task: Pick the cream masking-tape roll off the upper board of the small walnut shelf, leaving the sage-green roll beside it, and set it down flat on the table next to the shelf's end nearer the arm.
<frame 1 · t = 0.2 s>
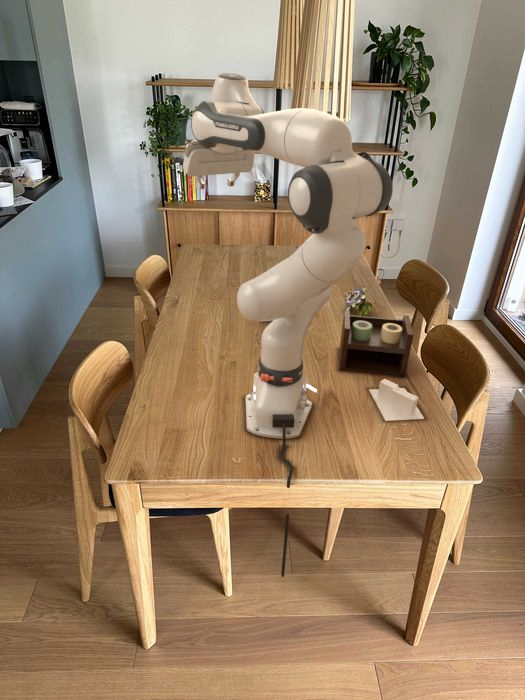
hand: (215, 186, 142), 52 cm above the table, tool tilted 20°, fingers open, 8 cm apart
film camera: (273, 314, 190), on the table
sage tape roll: (360, 336, 156), point 10 cm above the table, touching shelf
passion flower: (358, 312, 194), on the table
shelf: (370, 363, 161), on the table
cream tape roll: (390, 339, 155), point 10 cm above the table, touching shelf
napkin holder: (395, 404, 143), on the table
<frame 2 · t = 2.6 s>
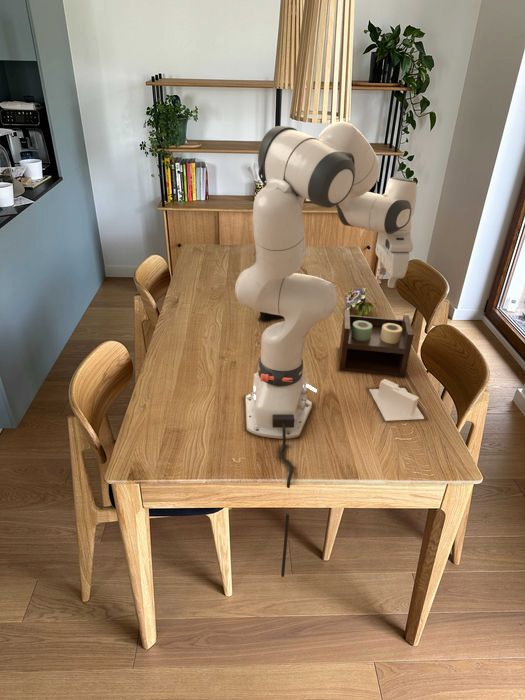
hand: (386, 280, 150), 27 cm above the table, tool pointing down, fingers open, 8 cm apart
nothing on the table moved.
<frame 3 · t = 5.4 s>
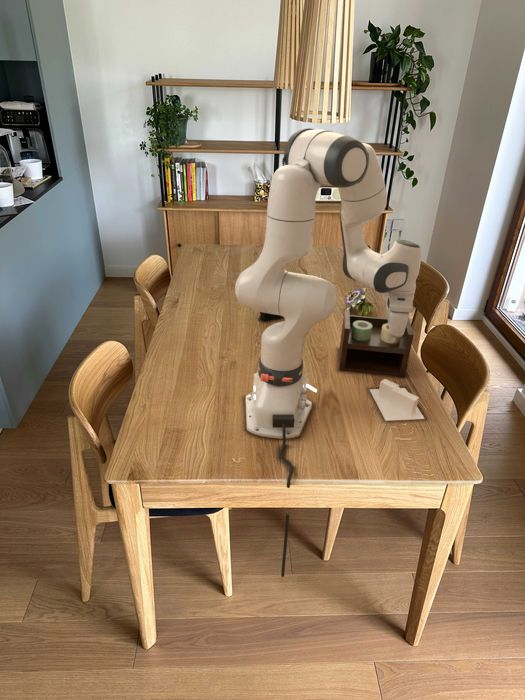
hand: (390, 335, 154), 11 cm above the table, tool pointing down, fingers closed on cream tape roll, 6 cm apart
cream tape roll: (390, 338, 155), point 10 cm above the table, touching gripper, shelf
everything else where it was.
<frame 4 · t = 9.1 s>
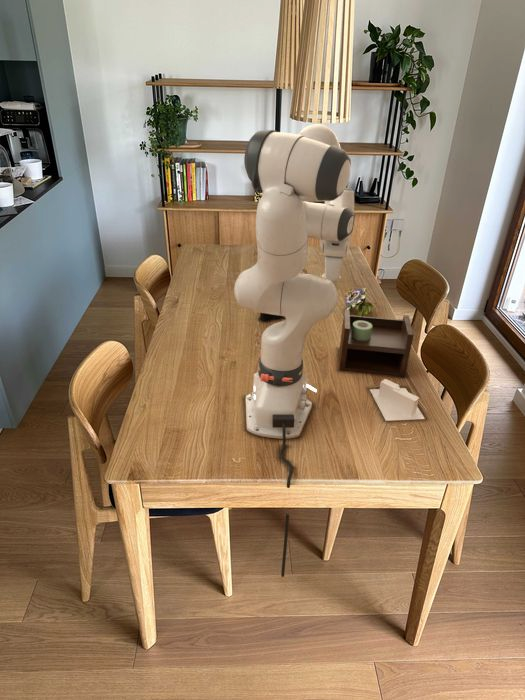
hand: (330, 284, 157), 23 cm above the table, tool pointing down, fingers closed on cream tape roll, 6 cm apart
cream tape roll: (330, 287, 158), point 22 cm above the table, touching gripper
everything else where it was.
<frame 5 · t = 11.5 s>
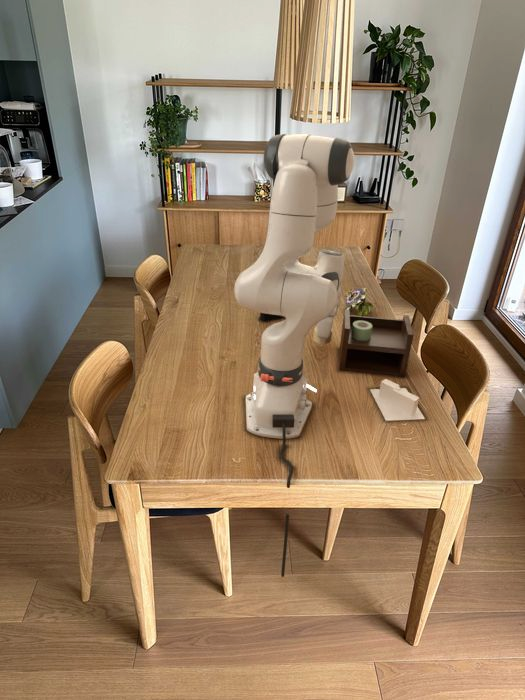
hand: (322, 336, 167), 4 cm above the table, tool pointing down, fingers closed on cream tape roll, 6 cm apart
cream tape roll: (322, 339, 168), point 3 cm above the table, touching gripper
everything else where it was.
when the fingers open (1 cm above the table, at t = 13.0 s): cream tape roll stays where it is, on the table.
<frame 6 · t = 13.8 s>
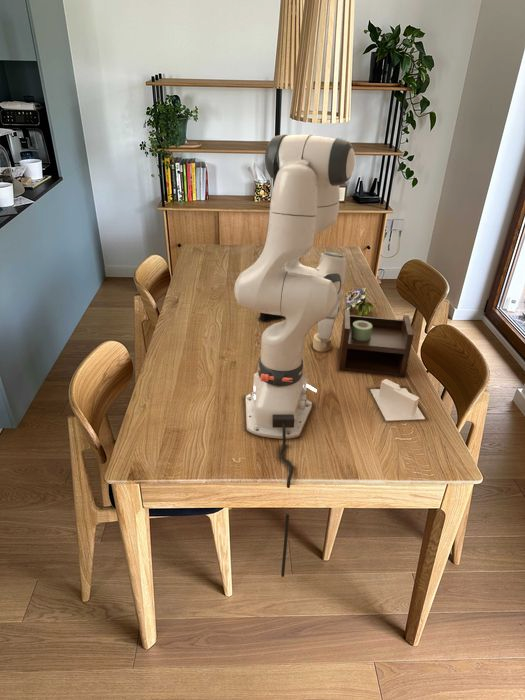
hand: (324, 339, 166), 4 cm above the table, tool pointing down, fingers open, 8 cm apart
cream tape roll: (321, 346, 169), on the table, touching gripper
everything else where it was.
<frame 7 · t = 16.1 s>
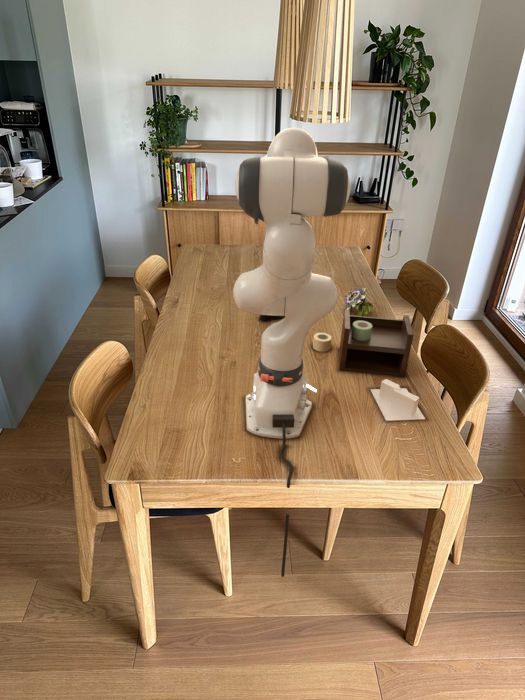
hand: (283, 261, 153), 30 cm above the table, tool pointing down, fingers open, 8 cm apart
cream tape roll: (321, 347, 169), on the table
everything else where it was.
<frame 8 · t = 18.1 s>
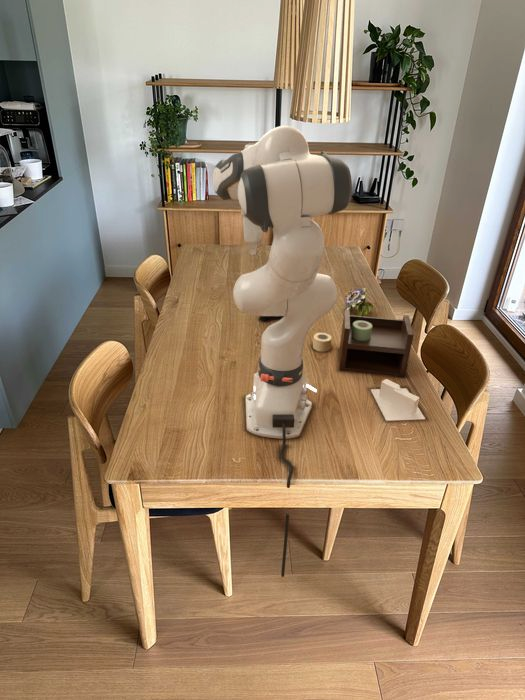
hand: (255, 248, 150), 34 cm above the table, tool pointing down, fingers open, 8 cm apart
nothing on the table moved.
at the end: cream tape roll inside the target area (0.2 cm from its centre), on the table; cream tape roll tilted 0°; sage tape roll moved 0.0 cm from its start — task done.
